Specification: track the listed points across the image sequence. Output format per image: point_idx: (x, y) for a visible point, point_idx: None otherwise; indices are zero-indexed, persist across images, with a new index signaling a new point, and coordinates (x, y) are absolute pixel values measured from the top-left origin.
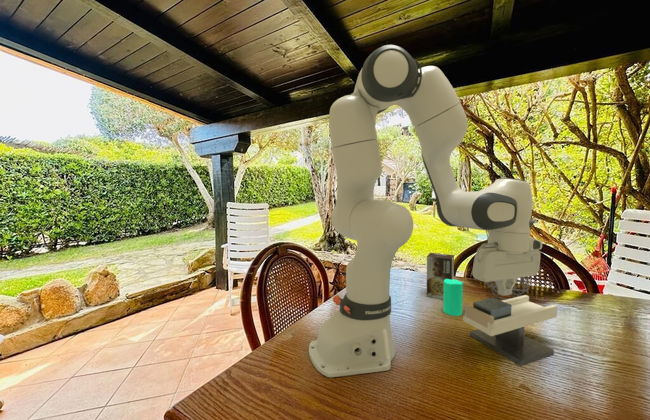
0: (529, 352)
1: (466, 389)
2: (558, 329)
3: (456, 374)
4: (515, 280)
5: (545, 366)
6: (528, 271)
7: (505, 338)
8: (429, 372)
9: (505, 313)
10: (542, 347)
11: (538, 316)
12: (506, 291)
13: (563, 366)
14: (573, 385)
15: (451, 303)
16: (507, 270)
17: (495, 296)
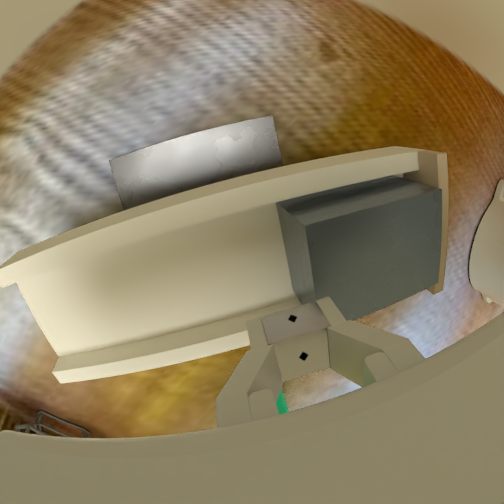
0: (204, 150)
1: (436, 92)
2: (15, 285)
3: (432, 133)
4: (227, 408)
5: (194, 104)
6: (64, 480)
7: None
8: (463, 155)
9: (333, 202)
10: (134, 175)
11: (106, 222)
12: (318, 316)
13: (139, 101)
14: (194, 31)
15: (281, 404)
16: (487, 426)
17: (89, 435)
